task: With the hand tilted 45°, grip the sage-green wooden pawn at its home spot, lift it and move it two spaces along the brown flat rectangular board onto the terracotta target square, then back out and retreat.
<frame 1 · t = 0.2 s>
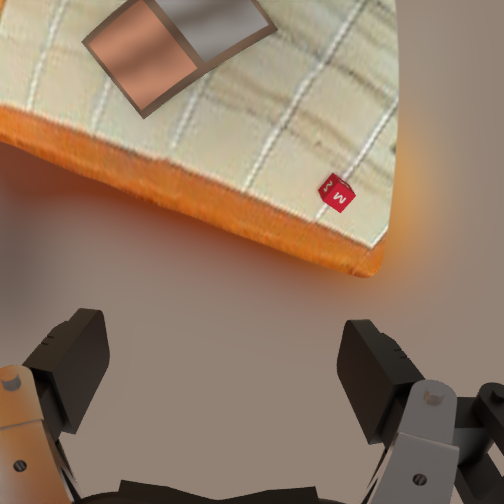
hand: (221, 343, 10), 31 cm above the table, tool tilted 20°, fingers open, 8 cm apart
brown flat rectangular board: (174, 29, 28), on the table
dice: (333, 187, 40), on the table
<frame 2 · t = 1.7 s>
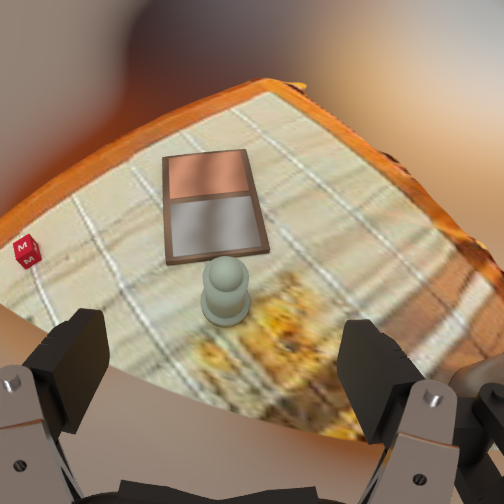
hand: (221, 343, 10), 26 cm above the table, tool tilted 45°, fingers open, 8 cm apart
brown flat rectangular board: (210, 201, 45), on the table
dice: (32, 257, 39), on the table
pawn: (225, 304, 38), on the table
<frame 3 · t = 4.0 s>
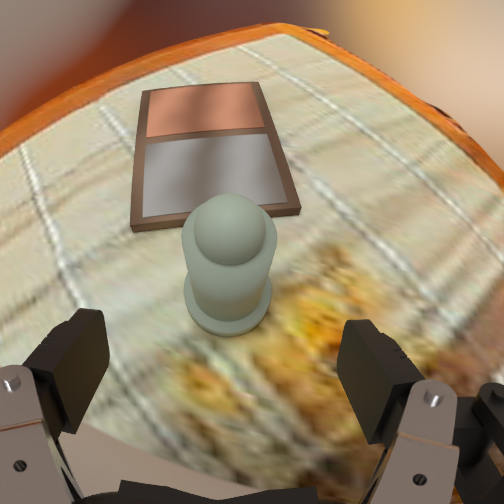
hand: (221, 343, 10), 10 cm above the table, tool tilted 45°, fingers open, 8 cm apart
brown flat rectangular board: (206, 142, 29), on the table
pawn: (227, 296, 22), on the table
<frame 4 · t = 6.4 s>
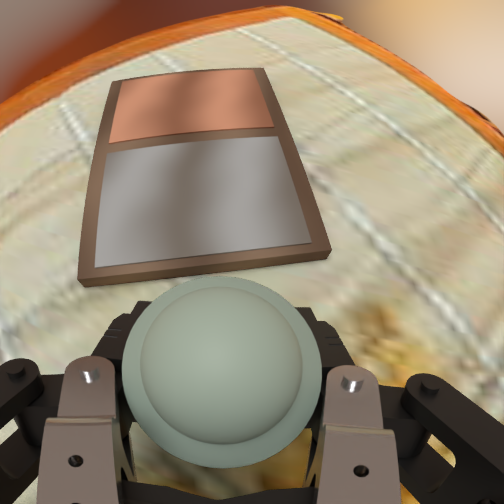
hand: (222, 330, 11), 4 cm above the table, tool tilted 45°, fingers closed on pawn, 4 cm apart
brown flat rectangular board: (192, 149, 20), on the table
pawn: (222, 393, 14), on the table, touching gripper
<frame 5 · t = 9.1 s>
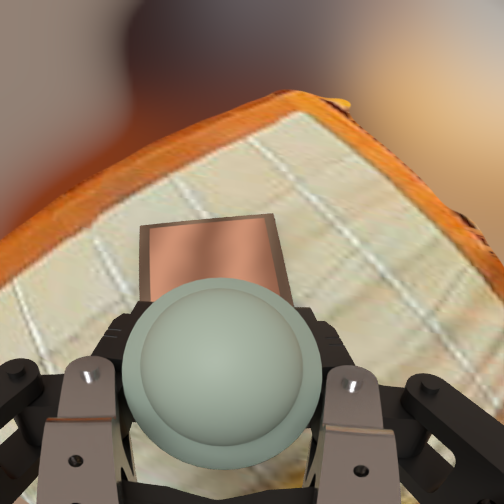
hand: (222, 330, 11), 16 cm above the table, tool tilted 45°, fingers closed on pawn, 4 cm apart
brown flat rectangular board: (216, 312, 28), on the table
pawn: (222, 393, 14), point 12 cm above the table, touching gripper
when the fingers open (7 cm above the table, at t = 12.2 s): pawn drops 1 cm, resting on brown flat rectangular board.
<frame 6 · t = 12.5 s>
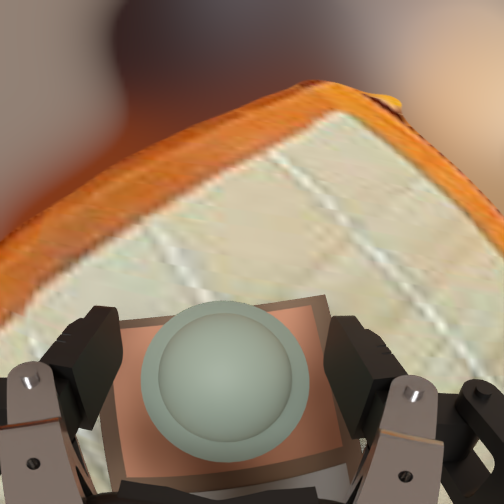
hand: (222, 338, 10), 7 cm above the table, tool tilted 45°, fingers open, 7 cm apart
brown flat rectangular board: (236, 475, 14), on the table
pawn: (224, 397, 15), point 1 cm above the table, touching brown flat rectangular board
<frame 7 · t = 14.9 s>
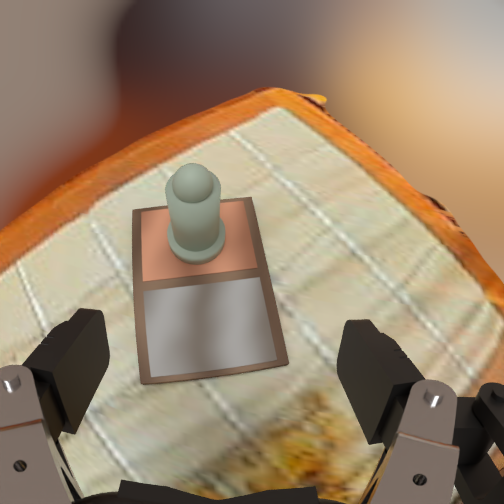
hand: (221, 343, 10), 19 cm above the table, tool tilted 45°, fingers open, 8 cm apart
brown flat rectangular board: (201, 284, 31), on the table
pawn: (196, 239, 32), point 1 cm above the table, touching brown flat rectangular board
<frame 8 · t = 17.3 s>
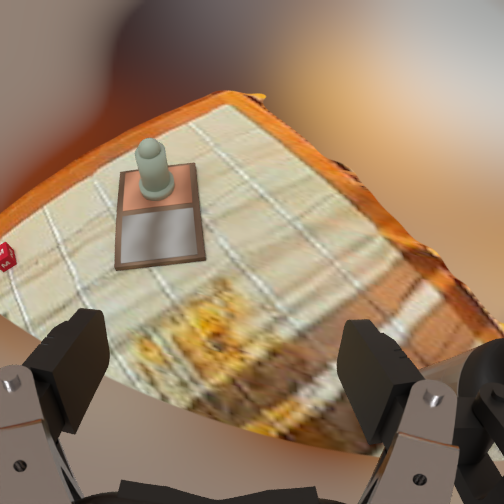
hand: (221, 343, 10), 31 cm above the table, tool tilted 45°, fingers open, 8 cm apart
brown flat rectangular board: (158, 213, 49), on the table
dice: (9, 261, 42), on the table
pawn: (157, 187, 50), point 1 cm above the table, touching brown flat rectangular board
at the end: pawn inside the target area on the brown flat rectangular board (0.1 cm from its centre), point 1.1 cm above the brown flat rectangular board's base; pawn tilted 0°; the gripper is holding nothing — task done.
